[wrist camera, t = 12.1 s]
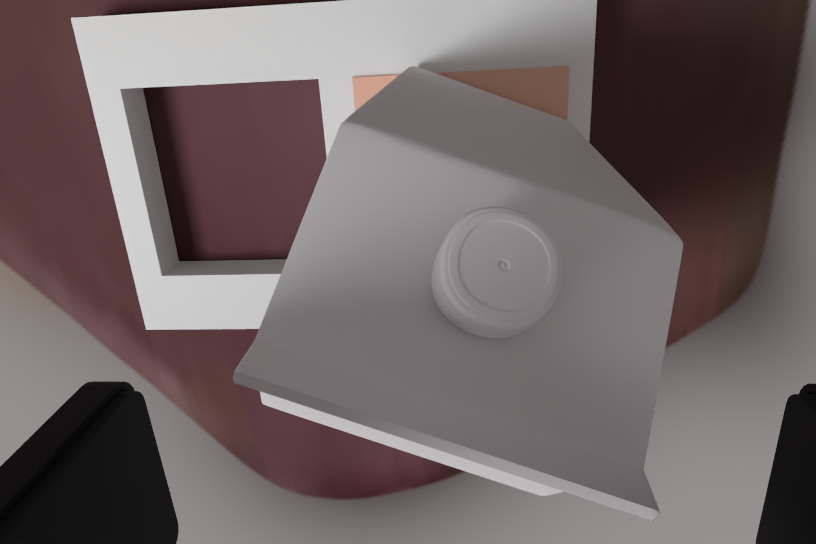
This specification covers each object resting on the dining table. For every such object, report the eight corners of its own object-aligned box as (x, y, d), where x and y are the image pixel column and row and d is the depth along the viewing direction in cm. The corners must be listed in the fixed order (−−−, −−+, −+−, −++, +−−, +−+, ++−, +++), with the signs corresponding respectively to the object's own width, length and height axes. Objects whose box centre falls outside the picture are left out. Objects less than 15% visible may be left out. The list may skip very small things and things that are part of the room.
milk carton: (506, 267, 29) (566, 656, 11) (362, 217, 28) (191, 536, 11) (570, 120, 26) (781, 331, 8) (410, 63, 26) (286, 160, 8)
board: (588, -14, 26) (598, -17, 24) (572, 308, 32) (580, 328, 30) (96, 18, 28) (68, 18, 26) (163, 312, 34) (144, 331, 32)
